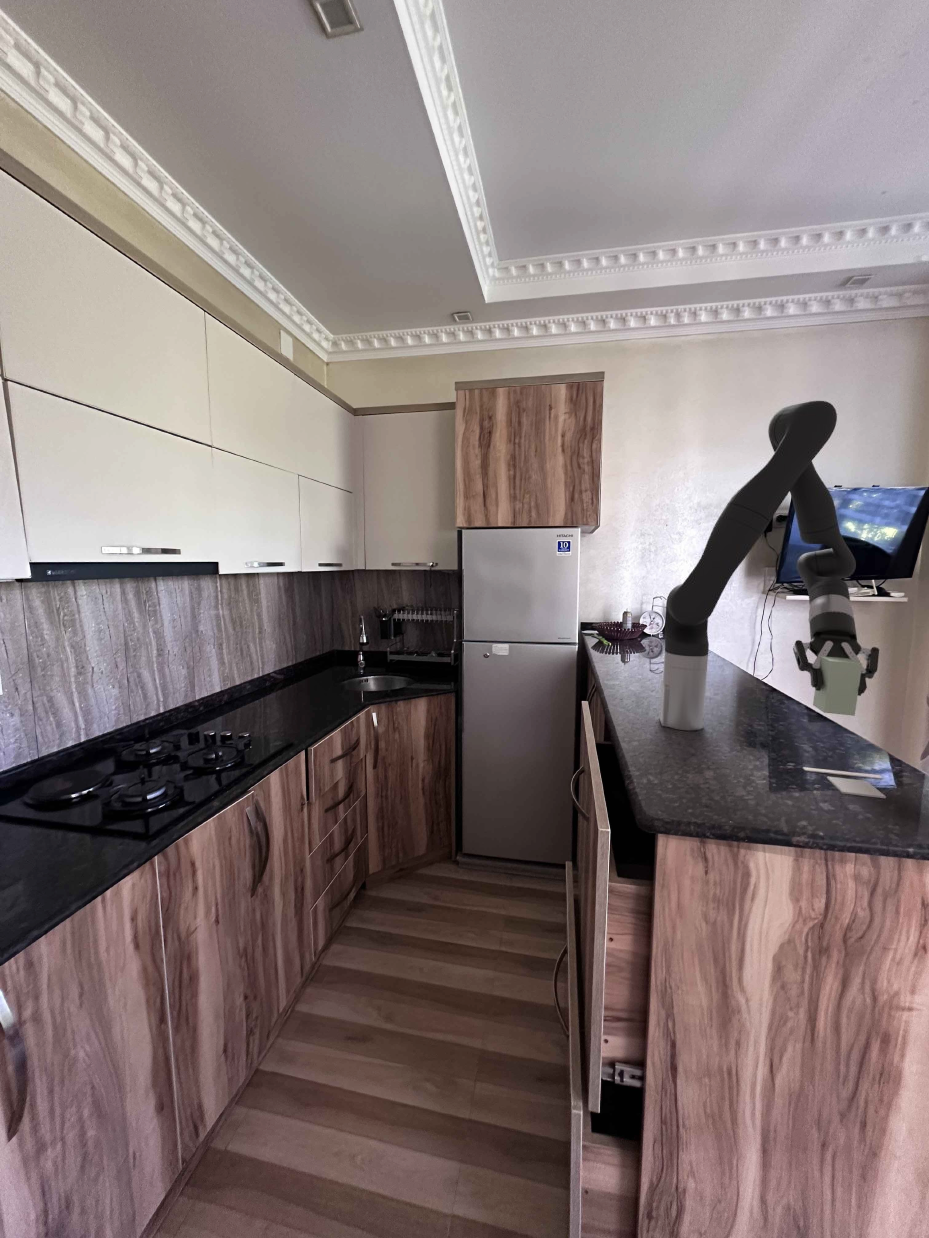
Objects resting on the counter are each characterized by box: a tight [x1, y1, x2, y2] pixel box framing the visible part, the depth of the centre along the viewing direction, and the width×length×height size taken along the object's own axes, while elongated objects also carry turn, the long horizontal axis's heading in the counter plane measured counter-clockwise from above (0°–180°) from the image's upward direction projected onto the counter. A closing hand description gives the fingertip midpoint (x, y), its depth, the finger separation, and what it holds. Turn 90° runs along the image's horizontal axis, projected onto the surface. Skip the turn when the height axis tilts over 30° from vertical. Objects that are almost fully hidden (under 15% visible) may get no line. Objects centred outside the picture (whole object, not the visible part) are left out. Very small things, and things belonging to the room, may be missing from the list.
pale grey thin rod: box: [802, 766, 884, 780], centre depth 89 cm, size 12×1×1 cm, turn 74°
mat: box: [826, 776, 887, 799], centre depth 83 cm, size 6×6×1 cm
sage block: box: [812, 657, 863, 717], centre depth 94 cm, size 5×5×10 cm
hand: (838, 690), depth 92 cm, fingers closed on sage block, 5 cm apart
